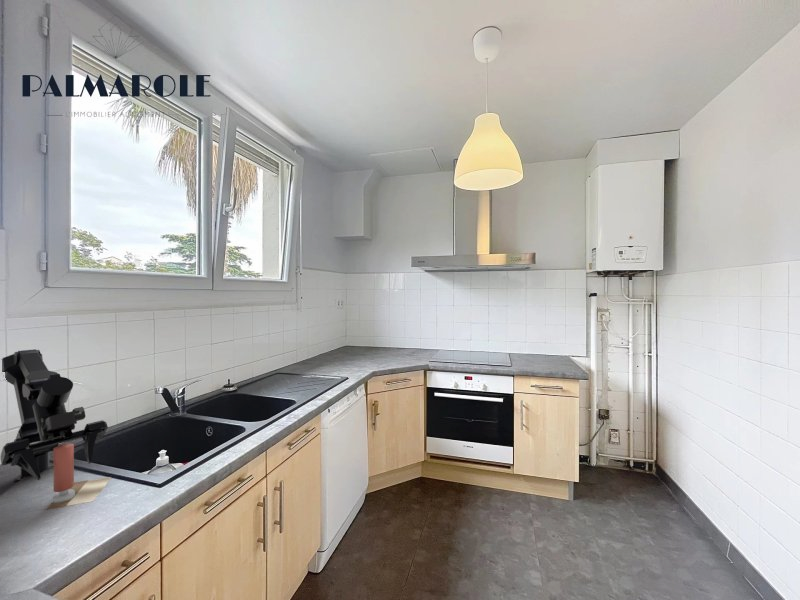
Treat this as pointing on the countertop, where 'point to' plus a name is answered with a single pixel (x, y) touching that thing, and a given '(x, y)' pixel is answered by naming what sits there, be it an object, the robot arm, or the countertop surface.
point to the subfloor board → (83, 492)
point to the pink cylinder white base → (63, 473)
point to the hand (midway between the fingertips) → (65, 470)
